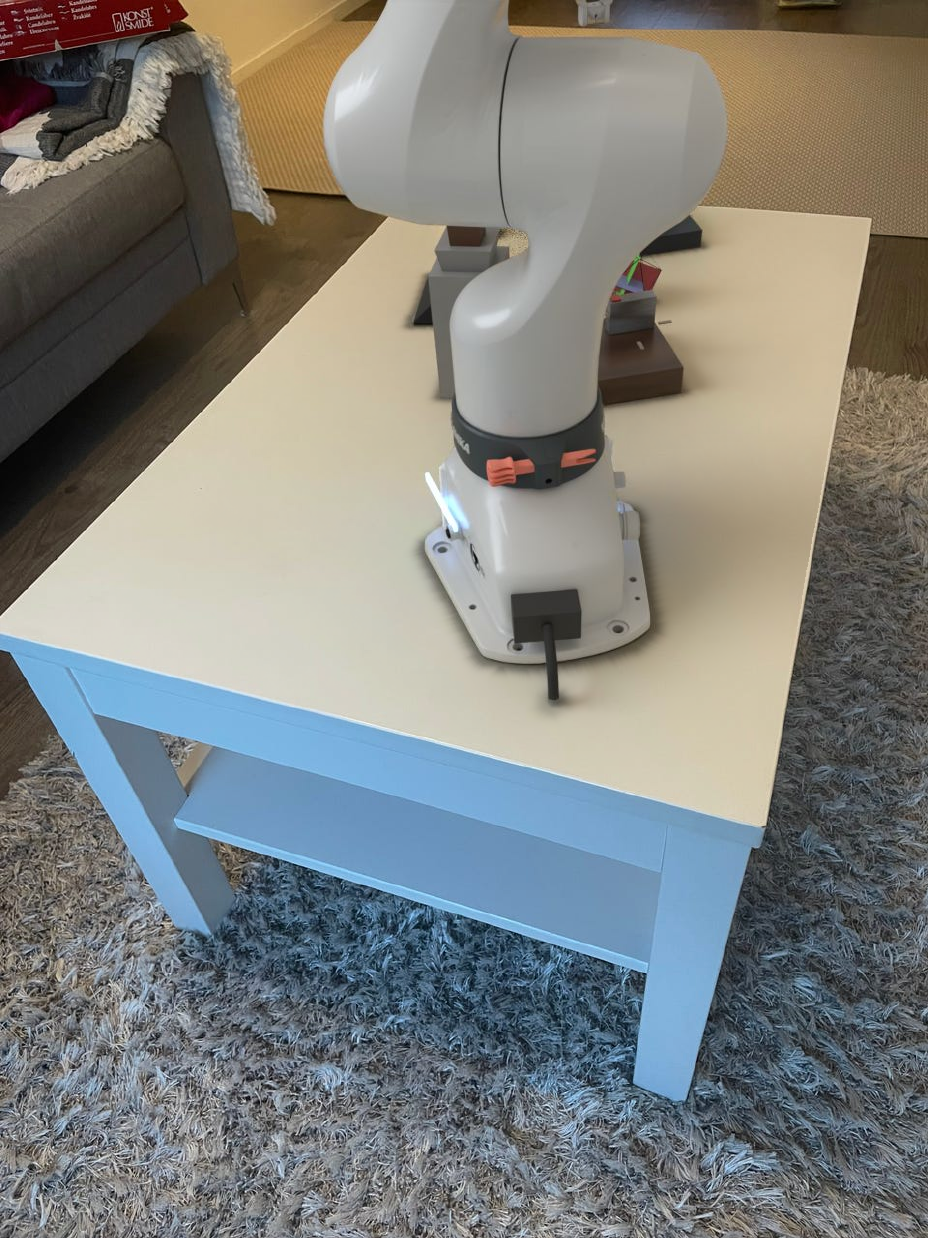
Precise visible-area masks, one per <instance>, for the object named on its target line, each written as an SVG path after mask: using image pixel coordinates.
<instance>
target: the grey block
mask: <svg viewBox="0 0 928 1238" xmlns="http://www.w3.org/2000/svg"><path fill="white" fill-rule="evenodd" d="M653 290H654V289H652V290H647V291H641V292H635V293H628V294H622V295H618V294H614V293H613V294H612V295H611V297H610V300H609V303H608V306H607V309H606V313H605V318H606V319H605V328H606V330H607V332H608V334H609V335H612V334H618V333H625V332H631V331H637V330H644V329H650V328H654V326H655V323H656V312H657V298H658V296H657V295H656V293H655V292H654V291H653Z"/></svg>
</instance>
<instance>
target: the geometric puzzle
mask: <svg viewBox="0 0 928 1238" xmlns="http://www.w3.org/2000/svg"><path fill="white" fill-rule="evenodd" d="M646 252H647V251H646ZM647 253H648V252H647ZM640 254H641V252H640V253H639V254H638V255H637V257H636V258H635V259H634V260H633V261H632V262H631V264H630V265H629V266H628V267H627V269H626V270H625V271H624V273H623V274H622V276H621V277H620V279H619V281H618V282H617V284H616V286H615V288H614V290H613V293H612V294H618V295H622V294H628V293H635V292H641V291H647V290H654V287H655V285H656V283H657V281H658V279H659V277H660V275H661V273H662V271H663V269H662V268H661V266H658V267H657V266H656V265H658V263H657V262H656V261H654V263H655V264H656V265H654V264H651V263H649V261H648V262H647V261H646V260H644V259H642V258H643V256H640ZM650 257H651V259H653V257H652V256H650Z"/></svg>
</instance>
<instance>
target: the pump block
mask: <svg viewBox="0 0 928 1238" xmlns="http://www.w3.org/2000/svg"><path fill="white" fill-rule="evenodd" d="M702 237H703V229H702V228H701V227H700V226H699V224H698V223H697V221H696V220H694V218H693V216H691V214H690V215H689V216H688V217H686V218H685V219H684V220H683V221H682V222H680V223H678V224H677V225H675V226H673V227H672V228H670V229H669V230H667V231H666V232H664V233H663V234H661V235H660V236H659V237H657V238H656V239H655V240H653V241H652V242H651V243H650V244H649V245H648V246H647V247H645V248H644V249H643V250H642V251H641V254H640V257H641V256H642V257H643V256H648V255H649V256H651V255H654V254H663V253H668V252H675V251H683V250H689V249H695V248H696V249H697V248H701V246H702ZM646 251H647V252H648V253H647V252H646Z"/></svg>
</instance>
